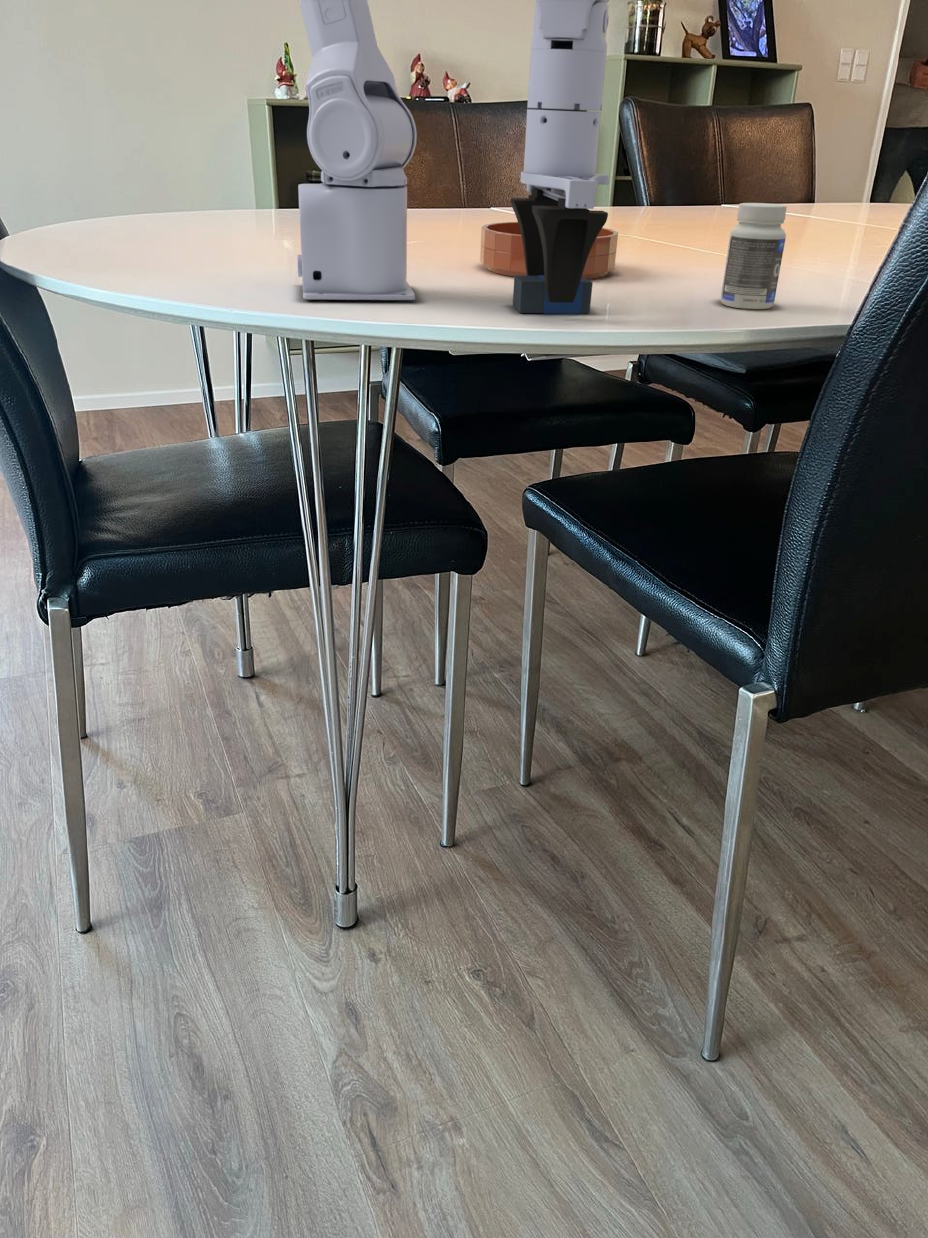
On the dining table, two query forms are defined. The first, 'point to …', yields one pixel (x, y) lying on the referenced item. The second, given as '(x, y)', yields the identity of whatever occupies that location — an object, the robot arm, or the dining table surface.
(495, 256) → the bowl
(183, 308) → the dining table surface
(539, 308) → the eraser
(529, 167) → the robot arm
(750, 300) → the pill bottle
